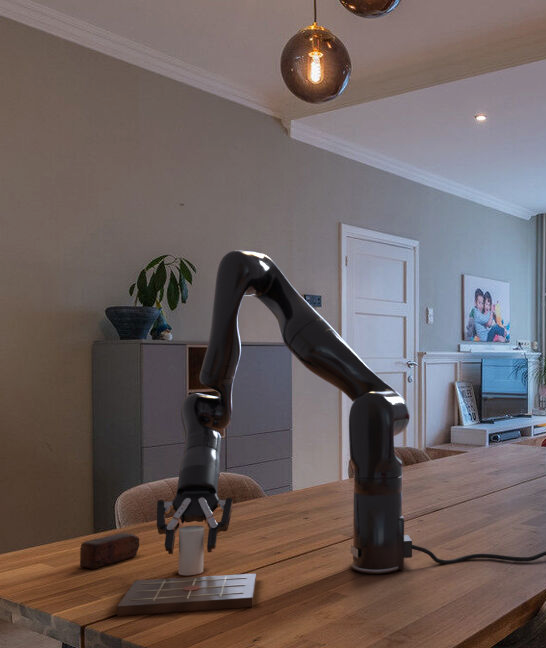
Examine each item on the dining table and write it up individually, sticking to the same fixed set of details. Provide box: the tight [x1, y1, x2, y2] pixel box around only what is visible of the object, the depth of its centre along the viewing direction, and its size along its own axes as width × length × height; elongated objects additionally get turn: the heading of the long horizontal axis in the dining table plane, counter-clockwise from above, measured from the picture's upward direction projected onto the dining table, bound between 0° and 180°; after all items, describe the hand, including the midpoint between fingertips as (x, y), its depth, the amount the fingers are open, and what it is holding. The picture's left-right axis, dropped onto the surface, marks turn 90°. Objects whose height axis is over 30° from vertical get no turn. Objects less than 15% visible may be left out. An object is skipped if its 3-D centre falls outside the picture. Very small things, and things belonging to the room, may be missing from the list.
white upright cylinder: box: [177, 524, 205, 576], centre depth 134 cm, size 4×4×8 cm
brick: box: [79, 532, 140, 570], centre depth 140 cm, size 11×4×5 cm, turn 157°
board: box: [116, 573, 257, 617], centre depth 119 cm, size 20×13×2 cm, turn 102°
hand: (190, 550), depth 132 cm, fingers open, 6 cm apart
